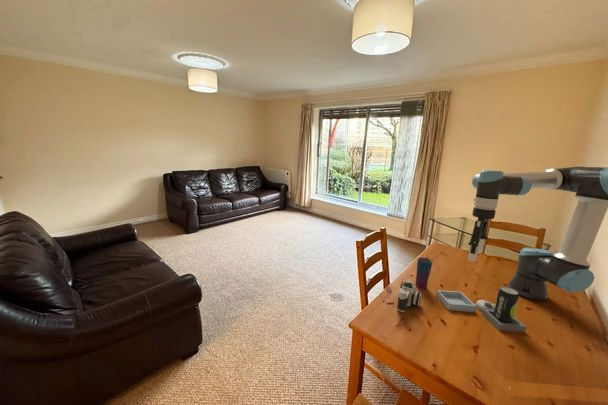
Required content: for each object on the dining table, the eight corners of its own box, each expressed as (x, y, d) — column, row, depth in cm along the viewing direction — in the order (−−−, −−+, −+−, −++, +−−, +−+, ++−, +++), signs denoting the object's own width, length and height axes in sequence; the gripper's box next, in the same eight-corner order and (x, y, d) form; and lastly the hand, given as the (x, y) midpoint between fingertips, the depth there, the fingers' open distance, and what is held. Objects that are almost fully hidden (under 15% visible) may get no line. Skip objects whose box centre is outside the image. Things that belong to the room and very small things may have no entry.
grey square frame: (491, 304, 115) (493, 298, 115) (524, 332, 97) (526, 325, 96) (469, 302, 116) (471, 296, 115) (498, 330, 97) (500, 323, 97)
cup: (429, 291, 123) (434, 263, 121) (415, 289, 125) (419, 261, 122) (425, 285, 130) (430, 258, 127) (412, 282, 131) (416, 256, 129)
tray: (459, 297, 120) (460, 291, 119) (475, 312, 108) (476, 306, 108) (435, 295, 120) (436, 289, 120) (448, 310, 109) (449, 303, 108)
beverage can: (488, 320, 103) (496, 287, 101) (497, 317, 106) (504, 285, 103) (505, 330, 98) (513, 295, 95) (514, 326, 100) (522, 292, 98)
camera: (415, 317, 102) (419, 295, 101) (394, 309, 107) (397, 288, 105) (420, 299, 116) (424, 280, 114) (401, 293, 120) (404, 274, 118)
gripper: (479, 203, 113) (471, 247, 117) (466, 209, 95) (457, 261, 99) (500, 206, 108) (491, 252, 112) (490, 213, 90) (479, 267, 94)
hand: (475, 256), depth 105 cm, fingers open, 13 cm apart
